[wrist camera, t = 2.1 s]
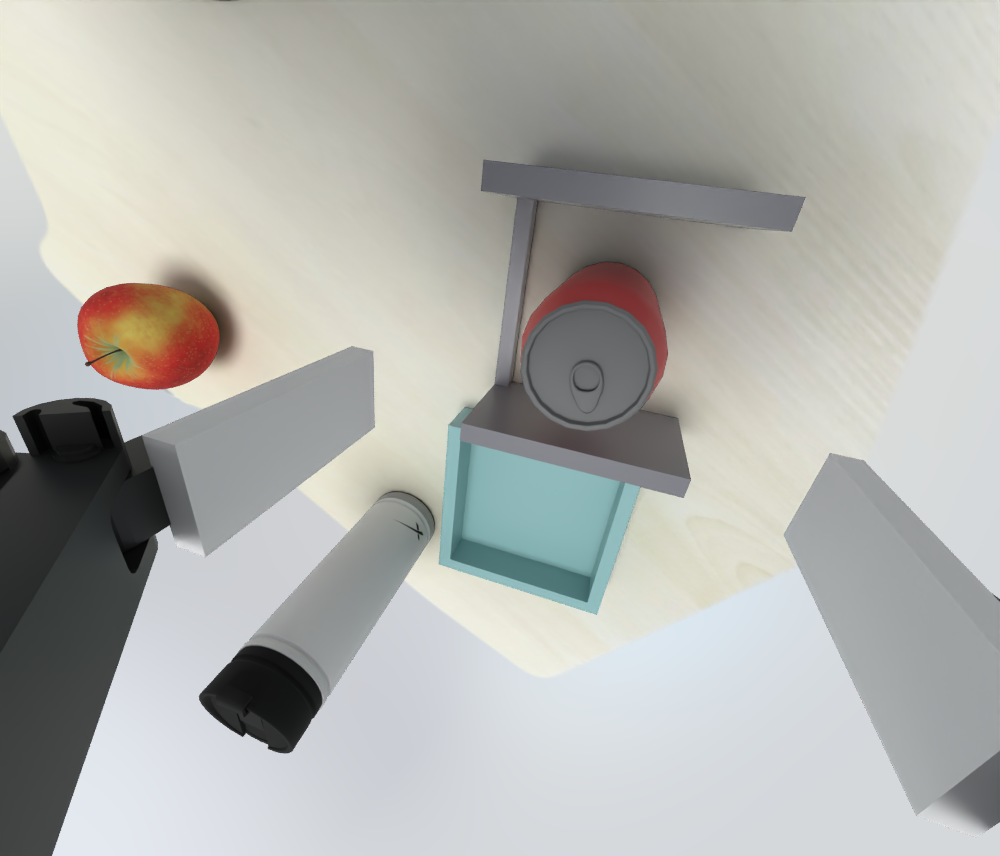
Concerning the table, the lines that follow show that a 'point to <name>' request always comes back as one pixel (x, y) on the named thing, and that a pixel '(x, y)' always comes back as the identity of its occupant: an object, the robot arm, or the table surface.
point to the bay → (507, 407)
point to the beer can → (595, 348)
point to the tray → (531, 522)
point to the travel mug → (319, 627)
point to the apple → (147, 335)
